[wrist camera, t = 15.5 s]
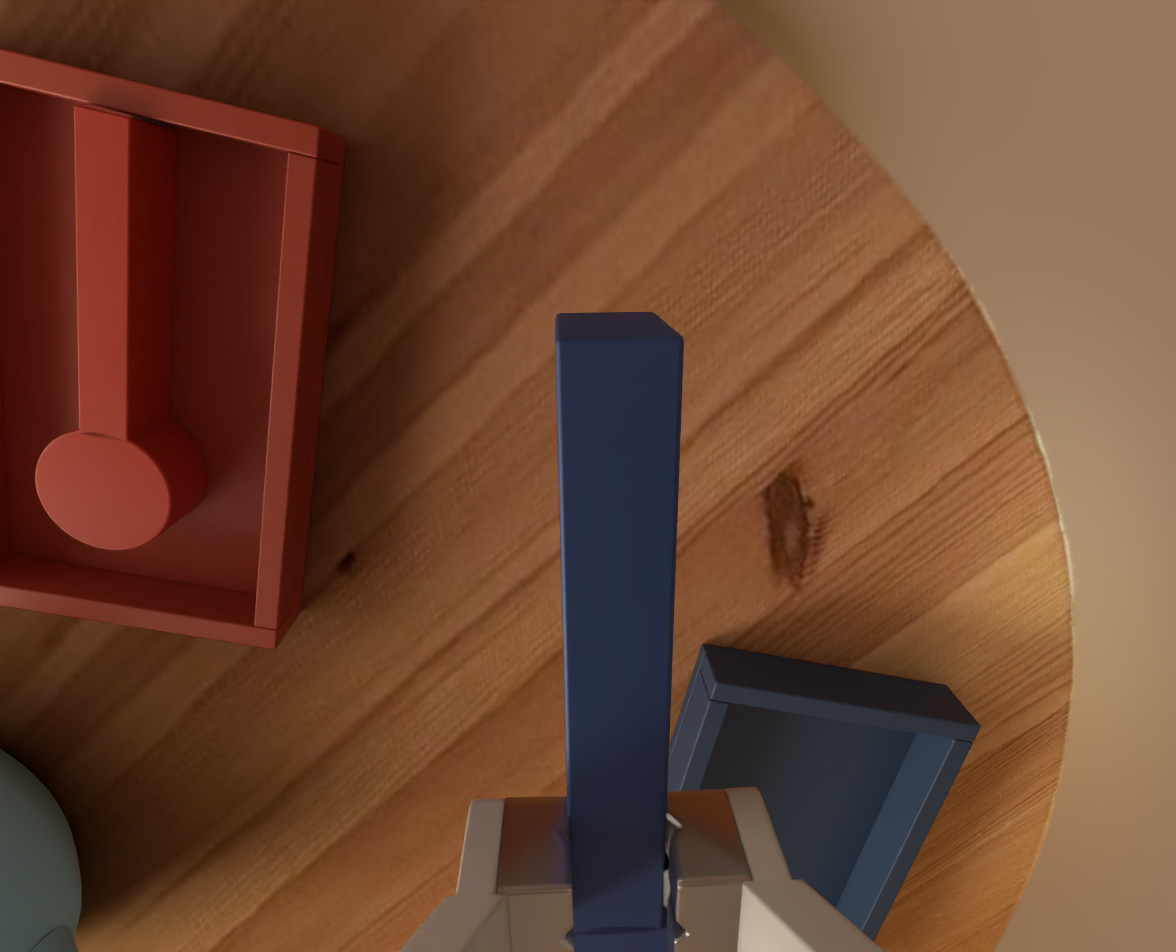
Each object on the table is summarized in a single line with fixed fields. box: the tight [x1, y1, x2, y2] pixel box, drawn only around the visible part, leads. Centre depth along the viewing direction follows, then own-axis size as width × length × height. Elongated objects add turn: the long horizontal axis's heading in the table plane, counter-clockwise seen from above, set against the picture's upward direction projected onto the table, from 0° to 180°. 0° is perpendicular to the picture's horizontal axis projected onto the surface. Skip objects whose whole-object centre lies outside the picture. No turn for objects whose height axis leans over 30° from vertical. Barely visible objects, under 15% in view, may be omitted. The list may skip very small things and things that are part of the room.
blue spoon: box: [555, 312, 684, 952], centre depth 11 cm, size 13×4×2 cm, turn 1°
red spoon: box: [35, 105, 208, 550], centre depth 21 cm, size 13×4×2 cm, turn 167°
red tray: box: [0, 48, 347, 649], centre depth 21 cm, size 17×11×2 cm, turn 167°
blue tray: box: [667, 644, 980, 942], centre depth 29 cm, size 17×11×2 cm, turn 167°
